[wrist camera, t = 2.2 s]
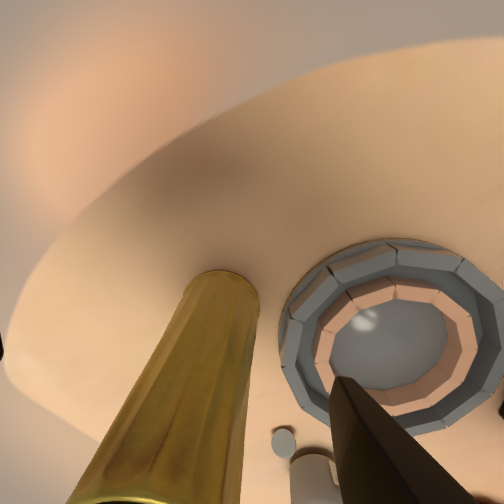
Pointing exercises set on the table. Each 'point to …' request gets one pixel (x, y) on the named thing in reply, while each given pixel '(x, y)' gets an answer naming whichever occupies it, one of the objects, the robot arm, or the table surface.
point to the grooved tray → (395, 332)
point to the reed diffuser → (308, 473)
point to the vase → (184, 407)
